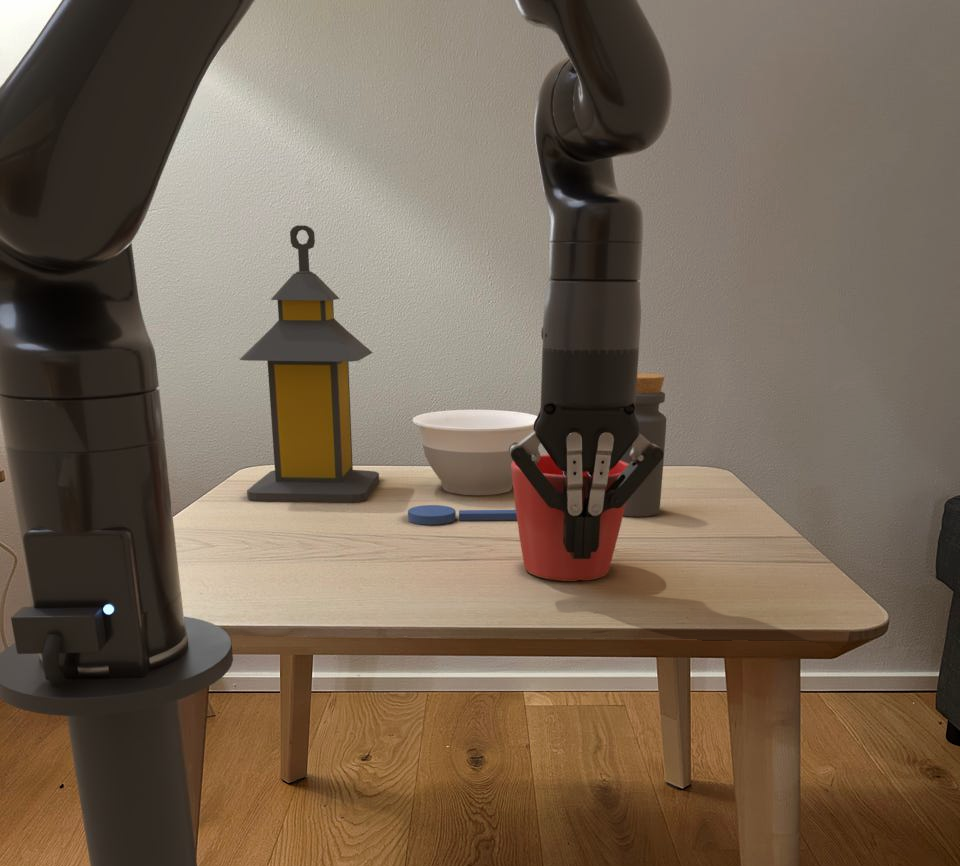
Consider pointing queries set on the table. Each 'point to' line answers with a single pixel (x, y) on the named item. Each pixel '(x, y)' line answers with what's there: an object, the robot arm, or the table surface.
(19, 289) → the robot arm
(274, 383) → the lantern
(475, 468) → the bowl
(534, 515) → the flower pot
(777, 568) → the table surface
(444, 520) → the spoon
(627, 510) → the bottle
